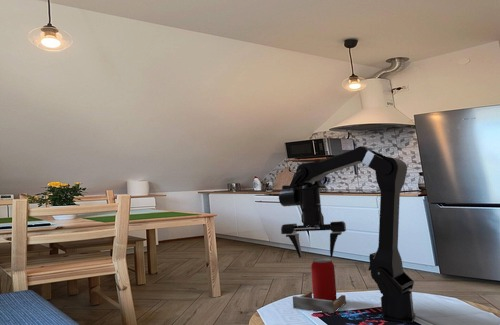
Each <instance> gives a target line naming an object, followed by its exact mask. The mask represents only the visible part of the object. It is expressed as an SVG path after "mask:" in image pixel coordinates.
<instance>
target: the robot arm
mask: <svg viewBox="0 0 500 325" xmlns="http://www.w3.org/2000/svg"><path fill="white" fill-rule="evenodd" d="M359 164H364V165H365V166H367V167H368V168H370V169H372V170H373V171H375V178H376V183H377V187H378V189H379V191H380V199H379V200H380V202H379V225H378V246H377V249H376V252H373V253H369V258H368V259H369V267H368V269H367V271H370V276H371V279H372V280H373V281H374V283H376V285H377V287H378V290H379V292H380V294H382V295H381V297H380V305H381V313H382V315H383V316H382V319H383V320H387V321H392V322H400V323H407V324H412V323H413V322H414V320H415V317H416V316H417V315H416V313H415V311H414V302H413V301H414V300H413V292H412V289H413V287H414V284H415V281H414V280H413V278H411V277H410V276H409V275H408V274H407V273H406V272H405V271H404V267H403V260H402V257H401V254H400V251H399V248H398V246H399V224H400V223H399V222H400V221H399V219H400V200H401V191H402V189H403V187H404V185H405V182H406V177H407V173H408V166H407V164H406V163H405V161H403V160H402V159H400V158H397V157H391V156H386V155H383V154H381V153H380V152H377V151H375V150H372V149H371V148H370V147H367V146H362V145H361V146H357V147H356V148H354V149H350V150H348V151H345V152H343V153H339V154H336V155H335V156H332V157H329V158H326V159H324V160H321V161H311V162H304V163H299V165H298V166H297V168H296V171H295V174H294V176H293V177H292V180H291V182H290V184H289V185H287V184H285V185H282V186H281V190H280V192H279V196H278V201H279V203H280V205H281V206H283V207H295V206H296V207H297V206H301V217H300V218H301V223H302V225H298V224H297V223H284V224H282V225H281V227H280V233H281V235H285V237H286V238H288V239H289V240H290V241H291V243H292V245H293V247H294V248H295V250H296V253H297V255H298V257H299V258H302V248H301V243H300V238H299V237H300V234H299V233H297V232H316V231H330V233H329V254H330V258H333V256H334V251H335V246H336V242H337V240H338V237H339V236H341V235H342V234H343V233H344V232H347V227H346V226H347V225H346V222H345V221H344V220H343V221H342V220H341V221H331V222H330V223H327V224H325V219H324V215H323V212H322V205H321V194H320V190H323V189H326V185H325V184H324V183H322V182H321V180H323V179H324V178H326V177H327V176H328V175H330V174H331V173H335V172H337V171H342V170H344V169H347V168H350V167H354V166H356V165H359Z"/></svg>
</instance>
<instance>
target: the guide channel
mask: <svg viewBox="0 0 500 325" xmlns="http://www.w3.org/2000/svg"><path fill="white" fill-rule="evenodd" d="M346 303H347V299H346V295H345V294H342V295H340V296H338V297H337V299H336V300H335V301H331V300H323V299H315V298H313V291H307V292H304V294H302V295H300V296H298V295H294V296H292V308H293V309H296V310H297V309H298V310H303V311H304V310H305V311H310V310H313V311H312V312H317V311H322V312H321V313H324V312H328V313H327V314H331V313H333V314H334V313H336V312H337V311H338V310H339V309H340V308H341V307H343V306H344V305H345V304H346ZM343 304H344V305H343ZM342 305H343V306H342ZM338 308H339V309H338ZM337 309H338V310H337ZM336 310H337V311H336Z"/></svg>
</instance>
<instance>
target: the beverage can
mask: <svg viewBox="0 0 500 325" xmlns="http://www.w3.org/2000/svg"><path fill="white" fill-rule="evenodd" d="M310 266H311V269H310V270H311V285H312V298H315V299H323V300H331V301H335V300H336V299H337V298H338V297H337V286H336V285H337V284H336V272H335V264H334V263H333V261H332V259H331V258H324V257H322V258H321V257H320V258H314V259H313V260H312V263H311V265H310Z"/></svg>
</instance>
